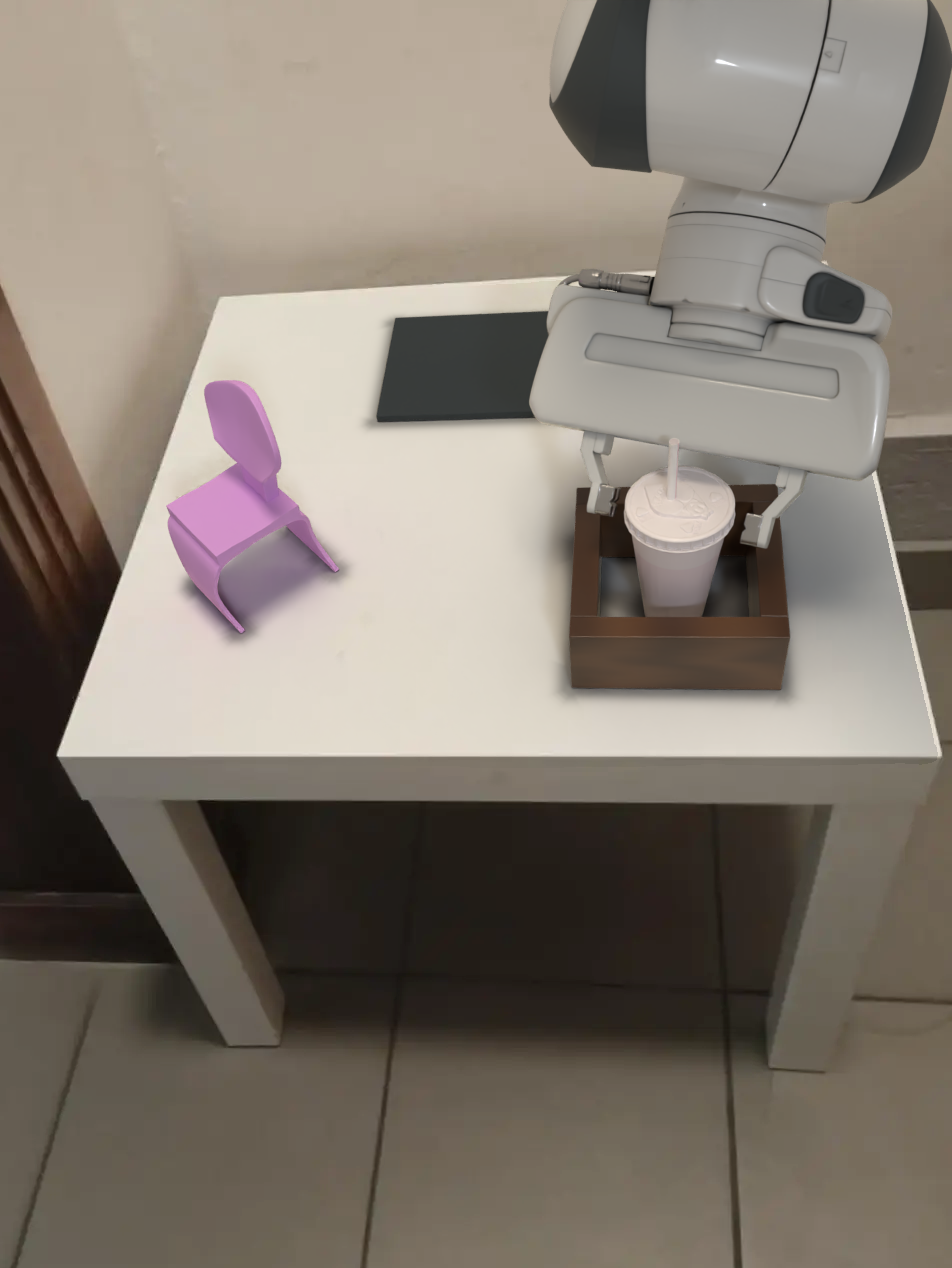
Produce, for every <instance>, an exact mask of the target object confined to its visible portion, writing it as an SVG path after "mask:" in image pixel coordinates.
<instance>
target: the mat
mask: <svg viewBox="0 0 952 1268" xmlns="http://www.w3.org/2000/svg"><path fill="white" fill-rule="evenodd" d="M548 311H549V310H542V311H541V310H540V311H539V310H537V311H517V312H515V311H513V312H496V313H495V312H493V313H471V314H449V315H428V316H427V315H426V316H406V317H405V316H404V317H394V321H393V327H392V333H391V338H390V343H389V348H388V354H387V358H386V364H385V369H384V375H383V380H382V385H381V390H380V393H379V394H380V395H379V400H378V405H377V411H376V416H375V417H376V421H377V422H378V423H379V422H413V421H414V422H415V421H445V420H452V421H453V420H478V419H479V420H483V419H485V420H486V419H515V418H516V419H517V418H535V416H534V414H533V412H532V410H531V407H530V405H529V399H530V393H531V389H532V385H533V382H534V378H535V375H536V371H537V368H538V365H539V361H540V358H541V355H542V353H543V350H544V347H545V344H546V342H547V339H548V336H549V335H548V332H547V325H546V324H547V316H548Z"/></svg>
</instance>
